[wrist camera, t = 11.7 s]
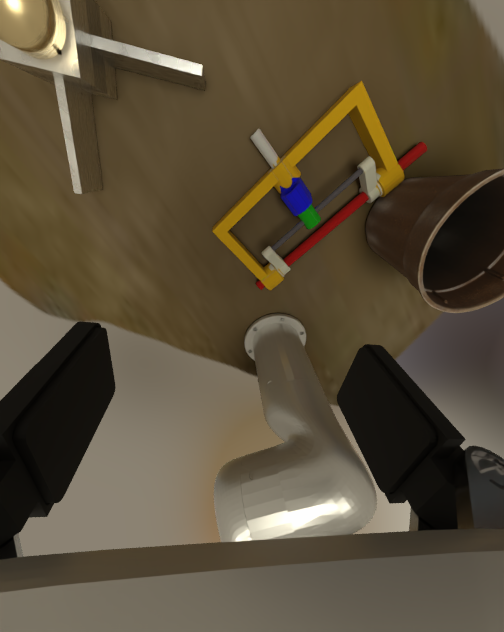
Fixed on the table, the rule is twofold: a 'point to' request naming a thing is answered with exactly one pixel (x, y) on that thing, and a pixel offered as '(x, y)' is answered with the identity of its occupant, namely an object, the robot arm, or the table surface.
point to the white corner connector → (94, 80)
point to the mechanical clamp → (373, 172)
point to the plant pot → (445, 237)
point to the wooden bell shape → (33, 26)
